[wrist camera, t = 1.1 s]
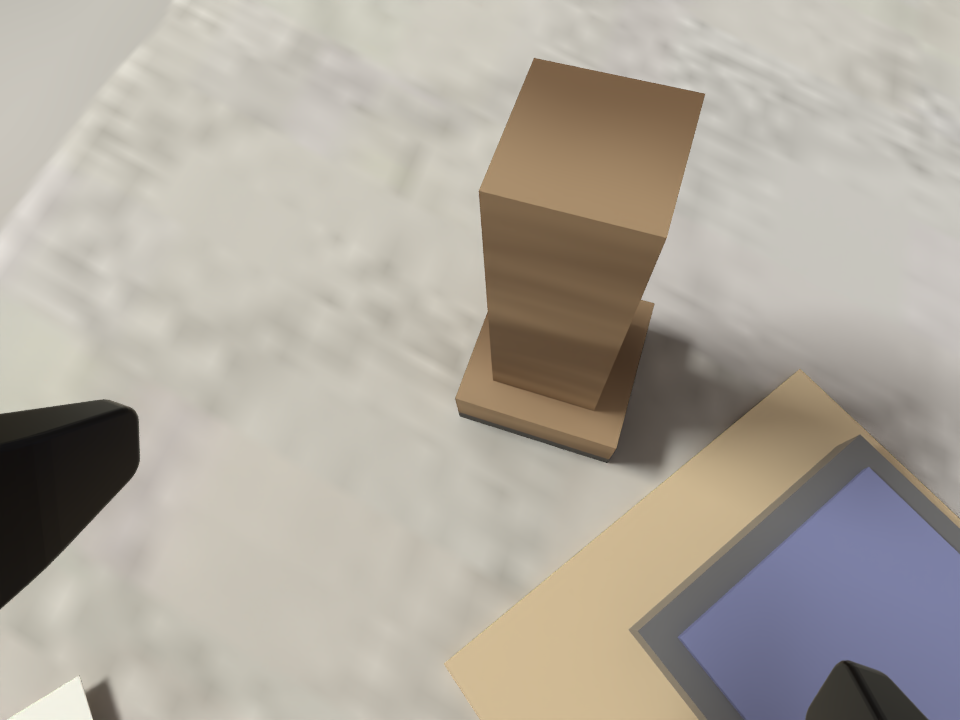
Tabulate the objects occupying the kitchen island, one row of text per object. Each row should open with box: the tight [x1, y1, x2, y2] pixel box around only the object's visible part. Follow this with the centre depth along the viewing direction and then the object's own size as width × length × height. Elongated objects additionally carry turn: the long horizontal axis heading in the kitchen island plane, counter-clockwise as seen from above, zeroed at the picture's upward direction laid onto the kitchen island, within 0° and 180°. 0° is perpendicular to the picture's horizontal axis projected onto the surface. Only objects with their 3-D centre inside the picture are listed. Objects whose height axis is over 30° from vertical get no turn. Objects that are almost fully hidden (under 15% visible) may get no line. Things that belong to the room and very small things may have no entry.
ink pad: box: [628, 435, 960, 720], centre depth 17 cm, size 10×10×2 cm
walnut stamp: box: [455, 58, 705, 463], centre depth 17 cm, size 6×6×12 cm
